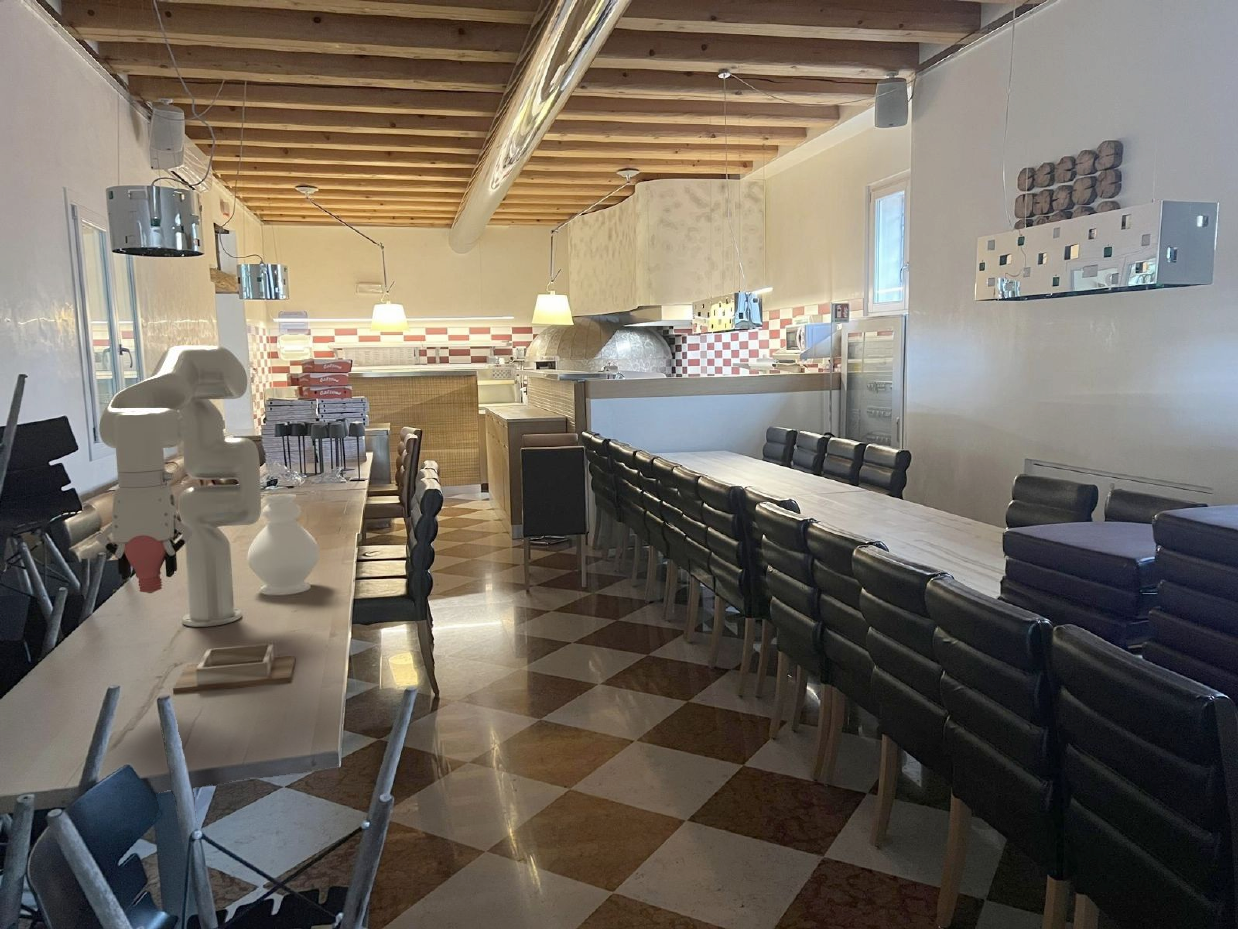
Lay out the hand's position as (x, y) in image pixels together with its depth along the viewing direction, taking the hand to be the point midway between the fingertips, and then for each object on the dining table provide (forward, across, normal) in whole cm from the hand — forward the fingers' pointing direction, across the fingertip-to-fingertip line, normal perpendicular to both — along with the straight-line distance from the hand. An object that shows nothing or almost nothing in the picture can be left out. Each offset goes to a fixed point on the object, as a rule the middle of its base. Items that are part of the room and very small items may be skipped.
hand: (148, 576), depth 162 cm
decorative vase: (+21, -15, -69) cm, 74 cm away
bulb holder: (+21, -14, -2) cm, 25 cm away
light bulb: (+3, 0, 0) cm, 3 cm away
